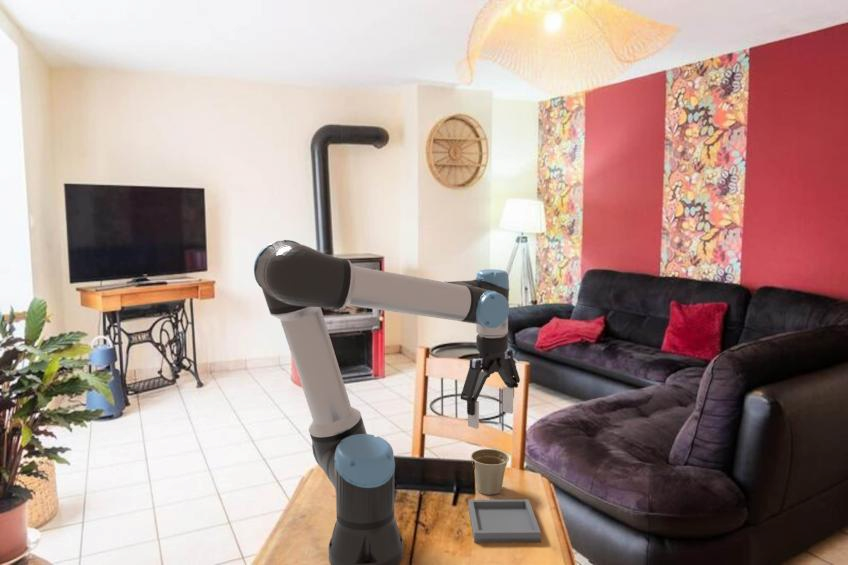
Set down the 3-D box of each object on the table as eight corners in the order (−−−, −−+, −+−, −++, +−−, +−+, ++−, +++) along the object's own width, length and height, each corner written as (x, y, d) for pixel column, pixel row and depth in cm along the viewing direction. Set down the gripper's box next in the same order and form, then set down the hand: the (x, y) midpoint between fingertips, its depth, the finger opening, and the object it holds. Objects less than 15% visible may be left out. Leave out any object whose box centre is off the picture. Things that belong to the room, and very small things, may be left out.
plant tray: (474, 542, 128) (474, 532, 128) (468, 508, 142) (468, 499, 142) (540, 542, 128) (540, 532, 128) (528, 508, 142) (528, 499, 142)
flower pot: (507, 481, 155) (508, 449, 154) (509, 499, 146) (509, 465, 145) (470, 479, 156) (471, 447, 155) (469, 497, 147) (470, 463, 146)
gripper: (470, 346, 134) (470, 438, 137) (535, 328, 152) (533, 410, 155) (445, 341, 139) (445, 429, 142) (510, 323, 157) (509, 403, 160)
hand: (491, 419), depth 149 cm, fingers open, 13 cm apart
